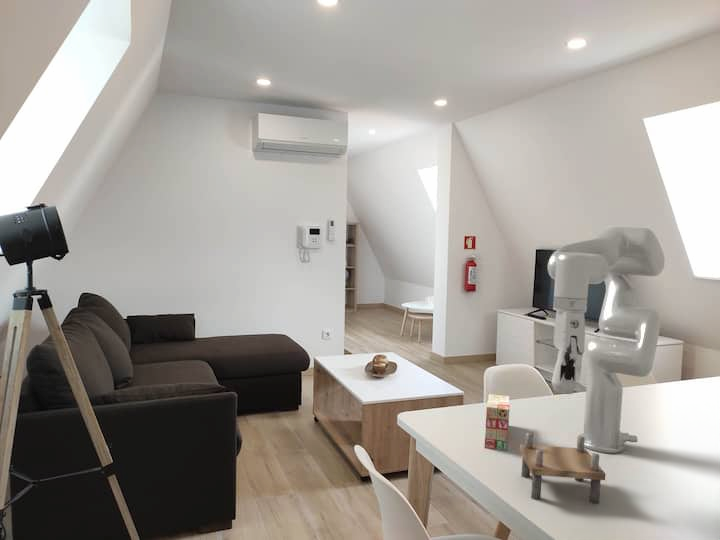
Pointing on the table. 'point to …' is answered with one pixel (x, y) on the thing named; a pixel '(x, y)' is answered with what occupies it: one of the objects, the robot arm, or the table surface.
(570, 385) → the salt shaker
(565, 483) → the table surface
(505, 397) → the stack of blocks
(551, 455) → the shelf
